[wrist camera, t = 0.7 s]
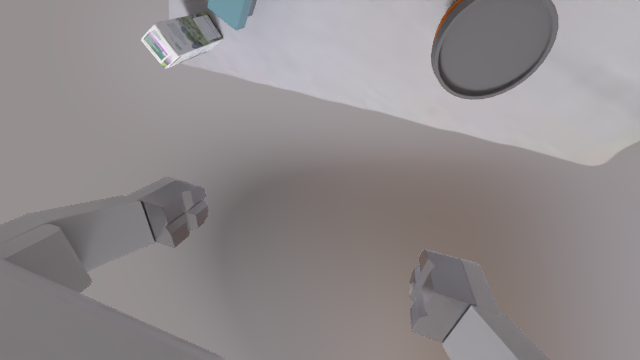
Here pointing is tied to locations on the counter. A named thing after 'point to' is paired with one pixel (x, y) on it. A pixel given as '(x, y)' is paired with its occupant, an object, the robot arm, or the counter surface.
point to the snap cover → (231, 11)
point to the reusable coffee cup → (492, 45)
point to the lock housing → (252, 7)
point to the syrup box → (181, 38)
